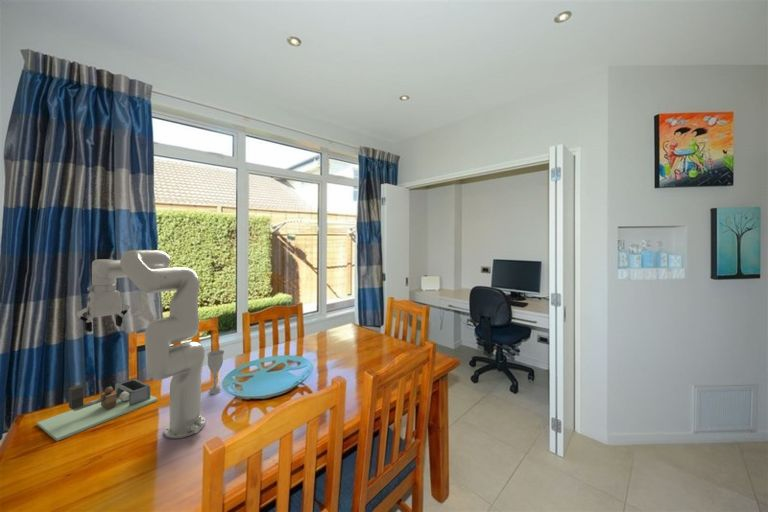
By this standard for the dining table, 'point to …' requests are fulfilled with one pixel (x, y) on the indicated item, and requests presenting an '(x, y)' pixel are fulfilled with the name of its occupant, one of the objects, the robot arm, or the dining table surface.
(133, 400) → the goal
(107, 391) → the striker
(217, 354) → the chalice
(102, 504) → the dining table surface
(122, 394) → the ball
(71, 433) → the plate
